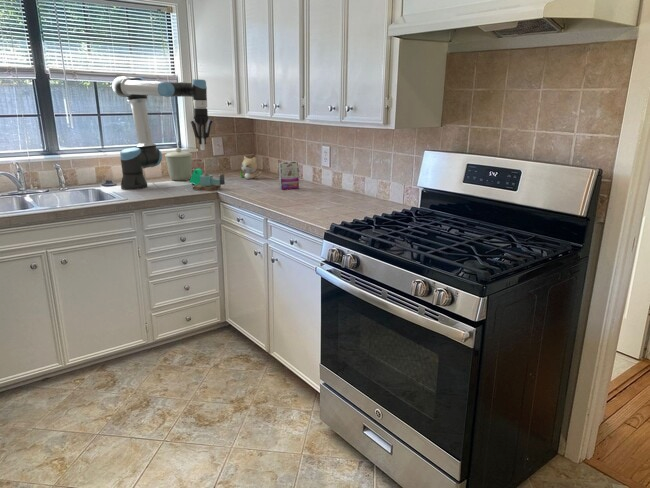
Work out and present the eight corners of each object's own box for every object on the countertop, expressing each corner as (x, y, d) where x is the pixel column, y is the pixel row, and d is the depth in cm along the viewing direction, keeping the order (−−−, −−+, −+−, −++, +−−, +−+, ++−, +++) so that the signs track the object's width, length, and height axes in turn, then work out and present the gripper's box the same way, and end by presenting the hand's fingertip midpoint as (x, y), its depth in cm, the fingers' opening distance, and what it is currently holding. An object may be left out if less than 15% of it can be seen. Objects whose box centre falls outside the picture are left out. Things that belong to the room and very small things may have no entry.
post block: (192, 190, 288) (191, 173, 285) (198, 187, 298) (197, 170, 295) (215, 190, 287) (214, 173, 284) (220, 187, 296) (219, 171, 293)
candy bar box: (296, 187, 298) (296, 160, 293) (299, 188, 294) (298, 161, 289) (278, 188, 294) (278, 161, 289) (281, 190, 290) (280, 162, 285)
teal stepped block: (223, 186, 288) (222, 175, 286) (200, 185, 289) (199, 174, 287) (226, 184, 293) (225, 173, 291) (203, 183, 295) (202, 173, 293)
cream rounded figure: (235, 178, 328) (234, 156, 323) (245, 176, 336) (244, 154, 331) (252, 180, 320) (251, 158, 315) (262, 178, 328) (261, 156, 323)
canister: (177, 176, 333) (174, 145, 327) (200, 178, 328) (197, 146, 322) (161, 181, 317) (157, 148, 310) (184, 182, 312) (182, 149, 305)
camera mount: (212, 184, 307) (211, 168, 304) (204, 186, 301) (202, 170, 297) (198, 182, 313) (197, 166, 310) (190, 184, 306) (188, 168, 303)
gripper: (192, 108, 267) (194, 151, 275) (214, 108, 275) (215, 150, 282) (187, 107, 273) (189, 149, 280) (208, 107, 281) (210, 148, 288)
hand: (202, 149), depth 281 cm, fingers closed
